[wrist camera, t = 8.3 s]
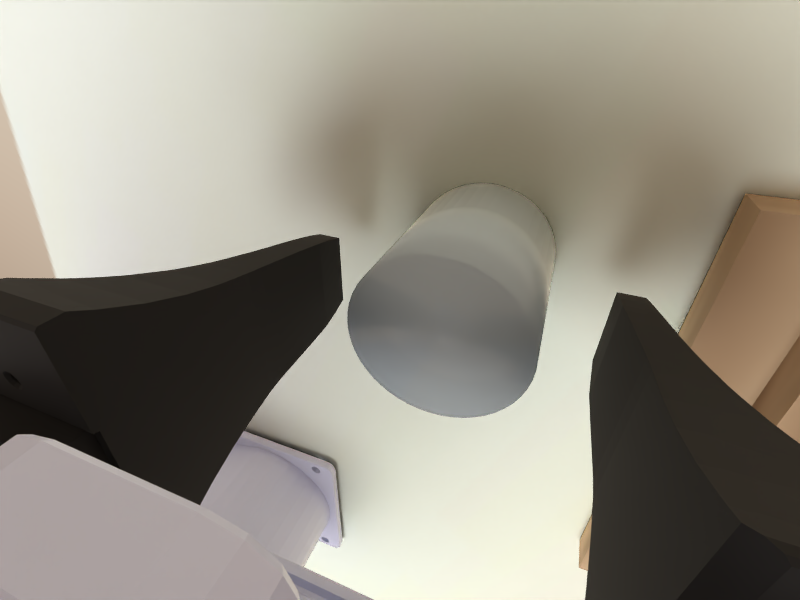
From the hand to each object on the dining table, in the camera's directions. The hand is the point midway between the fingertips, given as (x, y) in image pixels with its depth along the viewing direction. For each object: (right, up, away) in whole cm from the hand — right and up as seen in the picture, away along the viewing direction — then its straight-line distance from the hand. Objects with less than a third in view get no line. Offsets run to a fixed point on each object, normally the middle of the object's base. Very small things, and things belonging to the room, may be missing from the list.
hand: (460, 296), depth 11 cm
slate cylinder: (+1, +1, +2) cm, 3 cm away
